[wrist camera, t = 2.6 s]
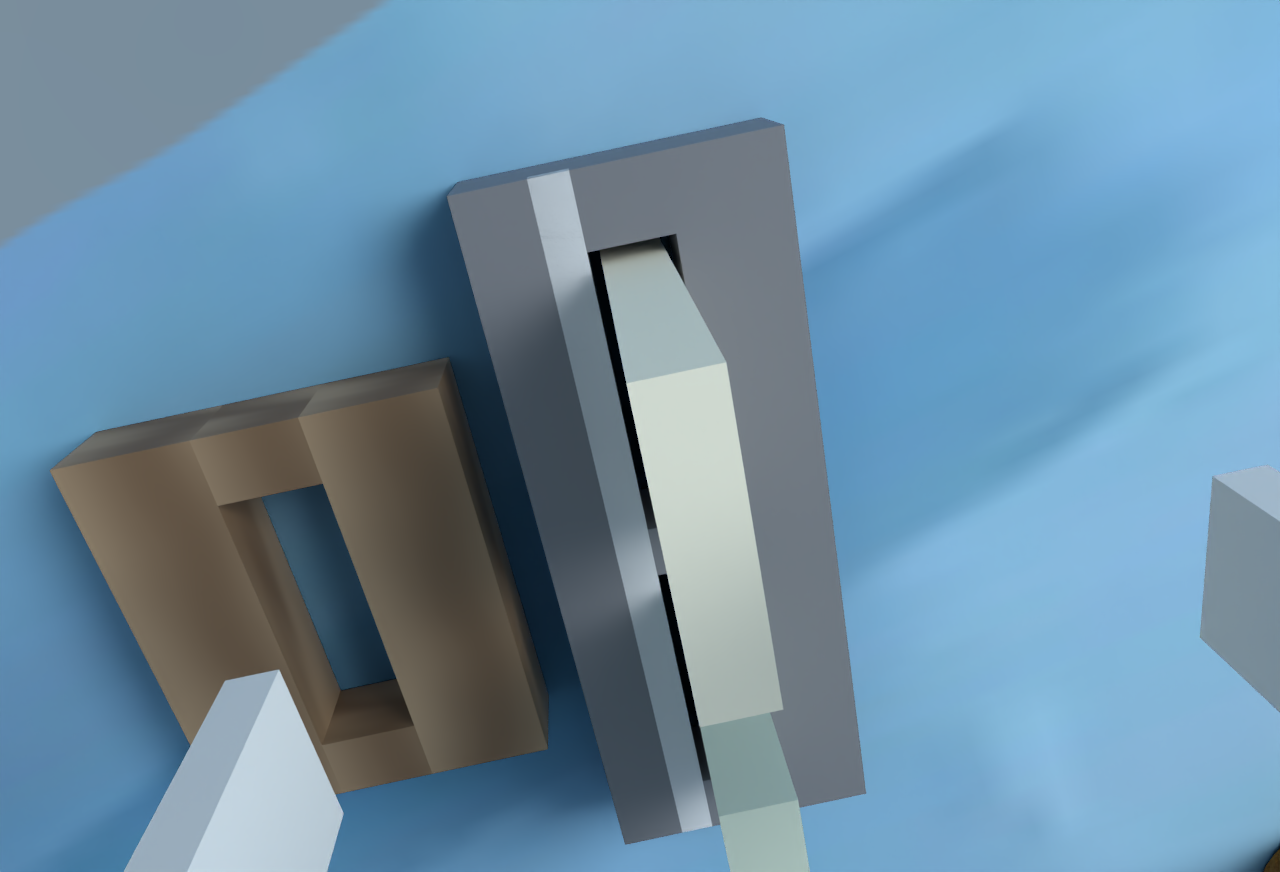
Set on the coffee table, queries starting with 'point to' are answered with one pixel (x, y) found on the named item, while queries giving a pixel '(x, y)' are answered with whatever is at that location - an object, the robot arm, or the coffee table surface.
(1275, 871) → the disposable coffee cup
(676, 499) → the pale green slab
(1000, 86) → the coffee table surface
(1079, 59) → the coffee table surface
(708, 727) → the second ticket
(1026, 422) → the coffee table surface
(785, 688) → the grey slotted plate
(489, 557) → the frame
